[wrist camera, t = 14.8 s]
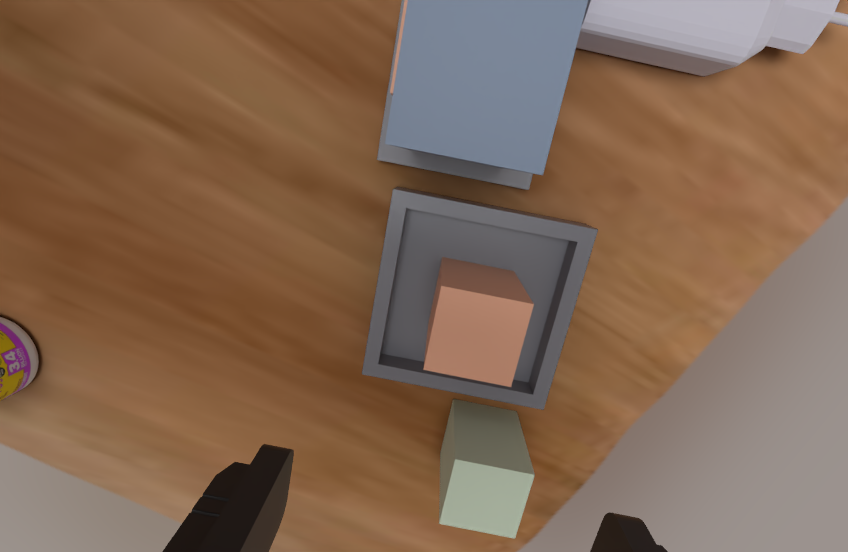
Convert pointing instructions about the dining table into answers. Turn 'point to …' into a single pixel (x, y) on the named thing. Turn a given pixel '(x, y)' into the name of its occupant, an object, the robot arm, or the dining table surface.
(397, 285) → the tray
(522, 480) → the sage block
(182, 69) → the dining table surface
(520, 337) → the terracotta block
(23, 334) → the supplement bottle
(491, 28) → the block
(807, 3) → the charger
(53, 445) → the dining table surface
